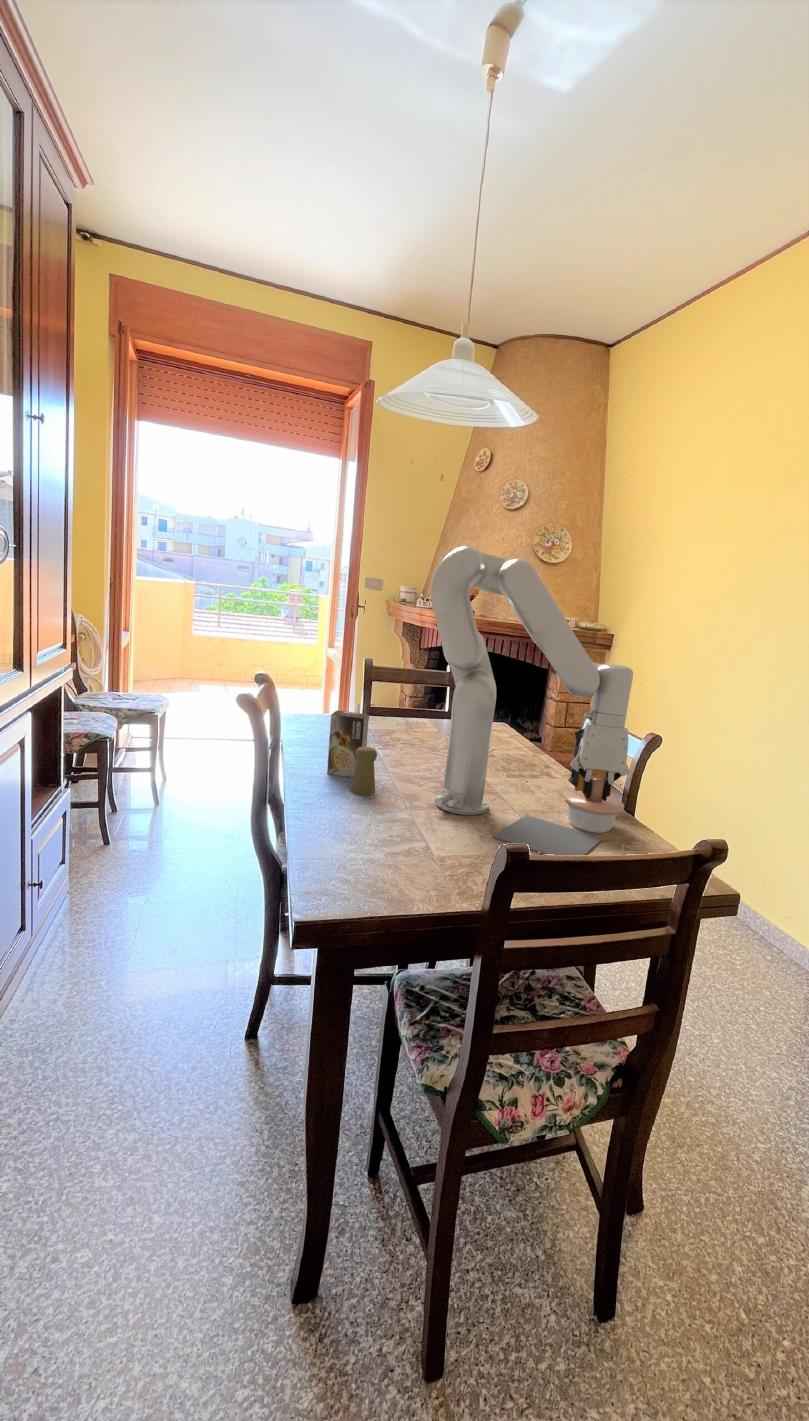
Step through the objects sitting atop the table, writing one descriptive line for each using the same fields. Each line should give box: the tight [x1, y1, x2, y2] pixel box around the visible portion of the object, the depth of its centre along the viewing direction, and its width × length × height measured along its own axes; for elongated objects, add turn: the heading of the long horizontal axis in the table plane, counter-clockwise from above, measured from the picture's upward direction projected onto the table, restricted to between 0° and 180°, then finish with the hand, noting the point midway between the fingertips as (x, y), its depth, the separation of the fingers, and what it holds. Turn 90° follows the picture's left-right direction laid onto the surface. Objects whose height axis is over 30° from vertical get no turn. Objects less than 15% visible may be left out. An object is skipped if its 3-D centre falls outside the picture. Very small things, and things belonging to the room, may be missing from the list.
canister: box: [567, 727, 613, 796], centre depth 161 cm, size 9×11×20 cm
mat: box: [491, 814, 604, 856], centre depth 134 cm, size 18×18×1 cm
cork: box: [350, 746, 378, 796], centre depth 152 cm, size 6×6×11 cm
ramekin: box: [567, 803, 619, 834], centre depth 145 cm, size 11×11×5 cm
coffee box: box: [326, 710, 370, 778], centre depth 164 cm, size 9×6×16 cm
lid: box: [564, 777, 625, 815], centre depth 144 cm, size 13×13×6 cm
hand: (594, 797), depth 144 cm, fingers closed on lid, 3 cm apart
